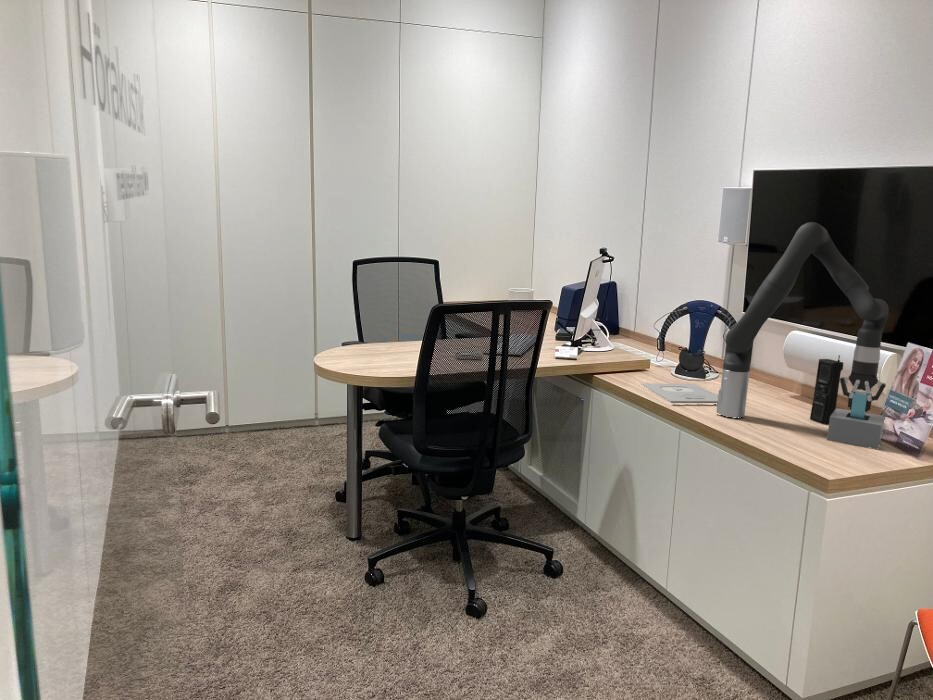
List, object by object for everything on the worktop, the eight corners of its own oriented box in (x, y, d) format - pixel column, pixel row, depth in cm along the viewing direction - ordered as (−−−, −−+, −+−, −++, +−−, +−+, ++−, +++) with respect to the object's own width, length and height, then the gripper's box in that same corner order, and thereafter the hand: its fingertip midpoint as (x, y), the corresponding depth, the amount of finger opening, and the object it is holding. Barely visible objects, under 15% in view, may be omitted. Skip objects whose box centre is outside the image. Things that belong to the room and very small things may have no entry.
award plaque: (670, 406, 281) (670, 400, 281) (639, 388, 310) (639, 383, 310) (729, 406, 286) (730, 401, 285) (693, 388, 315) (694, 383, 314)
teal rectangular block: (848, 431, 244) (853, 393, 242) (849, 428, 248) (855, 390, 246) (861, 433, 242) (867, 395, 239) (863, 430, 246) (868, 392, 243)
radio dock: (826, 440, 243) (829, 416, 242) (833, 430, 255) (836, 408, 254) (878, 449, 235) (881, 425, 234) (882, 439, 247) (885, 416, 246)
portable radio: (806, 418, 270) (814, 352, 266) (818, 417, 272) (827, 351, 268) (823, 424, 263) (832, 356, 258) (835, 423, 265) (845, 355, 261)
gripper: (840, 358, 241) (833, 408, 244) (889, 364, 234) (882, 416, 237) (843, 355, 247) (836, 404, 250) (891, 361, 240) (884, 412, 243)
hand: (858, 410), depth 243 cm, fingers closed on teal rectangular block, 4 cm apart
